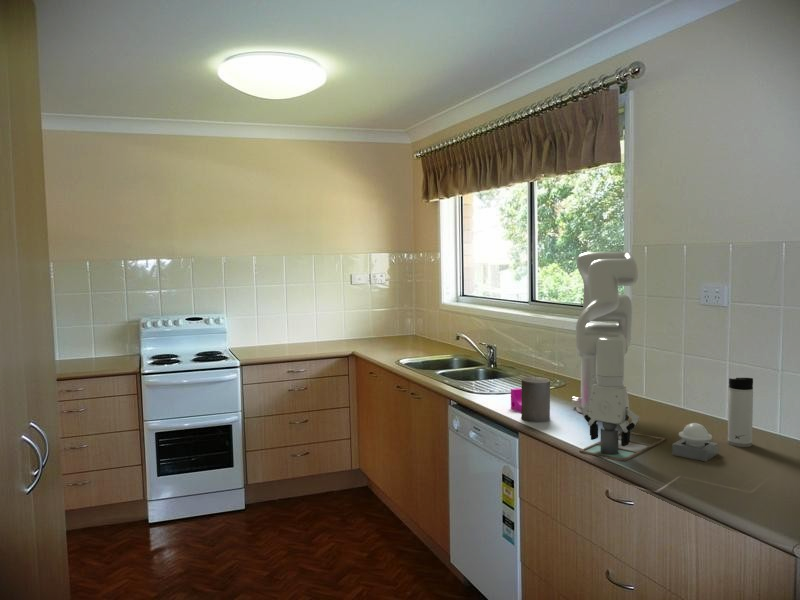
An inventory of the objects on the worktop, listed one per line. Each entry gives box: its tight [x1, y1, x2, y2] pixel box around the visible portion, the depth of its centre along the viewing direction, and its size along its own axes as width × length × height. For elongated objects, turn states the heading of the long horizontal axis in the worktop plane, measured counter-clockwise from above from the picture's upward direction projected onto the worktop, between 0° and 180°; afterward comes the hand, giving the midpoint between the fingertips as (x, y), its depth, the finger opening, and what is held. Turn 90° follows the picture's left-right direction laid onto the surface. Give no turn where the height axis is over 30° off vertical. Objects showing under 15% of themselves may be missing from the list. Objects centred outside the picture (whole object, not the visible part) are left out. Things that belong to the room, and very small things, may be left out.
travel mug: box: [727, 377, 754, 448], centre depth 186 cm, size 6×7×20 cm
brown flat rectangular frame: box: [579, 430, 667, 463], centre depth 187 cm, size 13×28×1 cm, turn 135°
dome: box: [678, 422, 713, 448], centre depth 178 cm, size 8×8×7 cm
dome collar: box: [671, 438, 719, 462], centre depth 178 cm, size 9×9×3 cm
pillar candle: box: [520, 375, 551, 423], centre depth 219 cm, size 10×10×15 cm
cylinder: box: [600, 422, 620, 455], centre depth 180 cm, size 5×5×10 cm
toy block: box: [510, 387, 522, 414], centre depth 228 cm, size 15×6×8 cm, turn 21°
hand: (609, 441), depth 180 cm, fingers open, 8 cm apart
